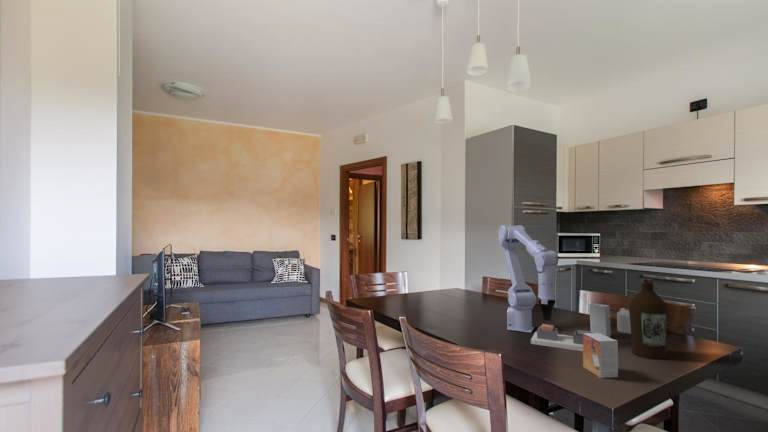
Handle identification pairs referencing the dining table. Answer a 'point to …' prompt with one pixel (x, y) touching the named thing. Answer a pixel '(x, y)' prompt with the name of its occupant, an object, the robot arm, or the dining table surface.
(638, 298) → the olive oil
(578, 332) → the button grey
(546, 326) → the button terracotta
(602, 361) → the small box
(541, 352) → the dining table surface
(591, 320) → the skincare box
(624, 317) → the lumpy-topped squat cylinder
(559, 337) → the console
